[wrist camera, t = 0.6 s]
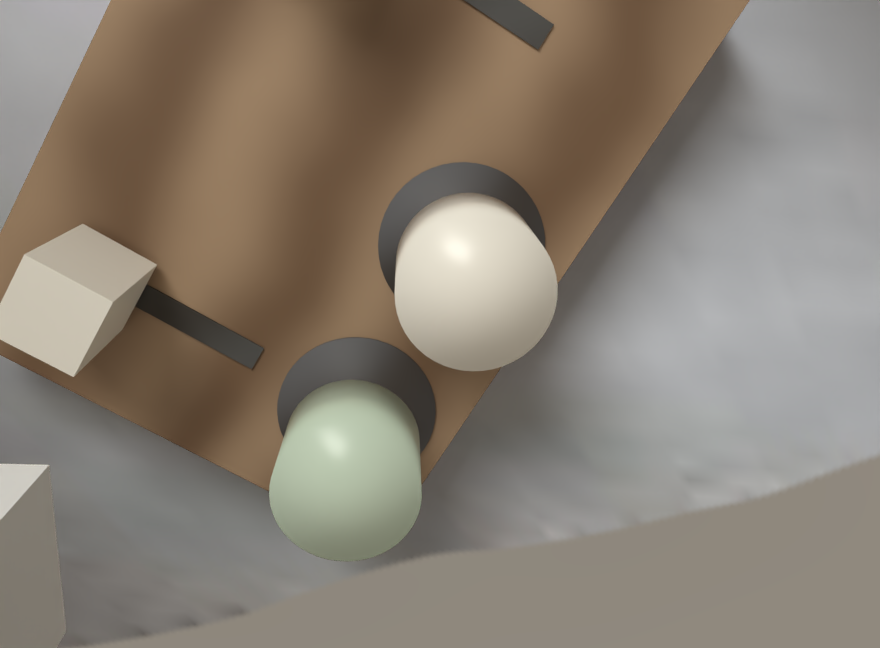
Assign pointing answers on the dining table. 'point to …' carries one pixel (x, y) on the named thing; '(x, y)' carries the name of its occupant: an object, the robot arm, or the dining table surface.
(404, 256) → the button ivory
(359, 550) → the button sage
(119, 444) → the dining table surface
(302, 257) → the console
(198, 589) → the dining table surface
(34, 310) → the slider ivory
